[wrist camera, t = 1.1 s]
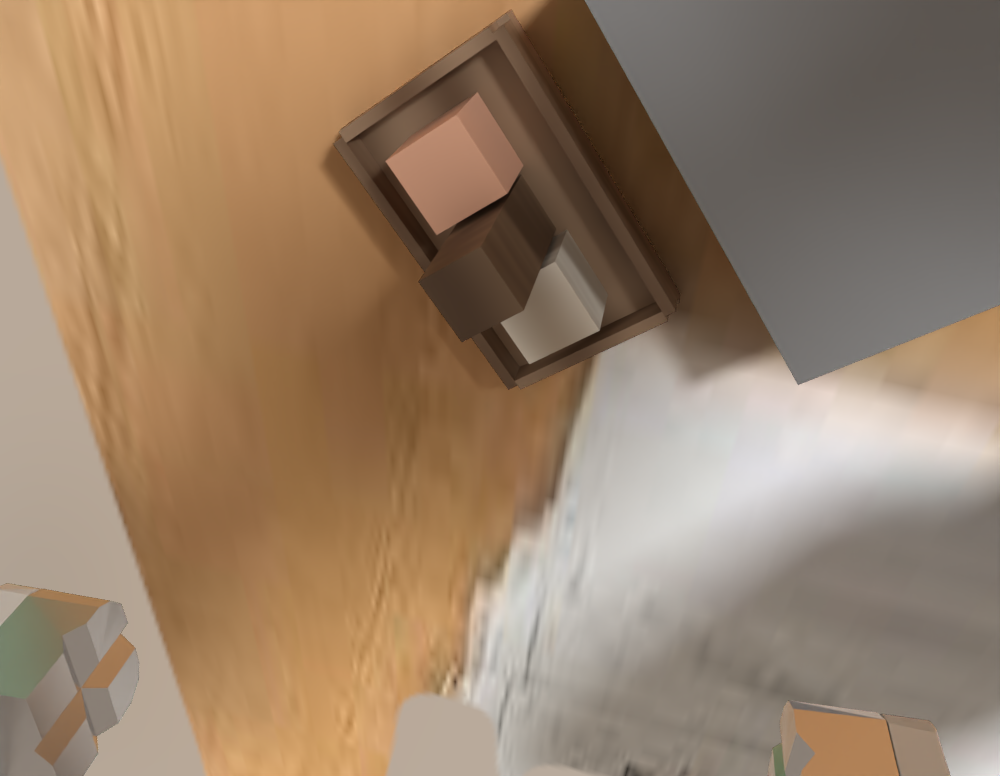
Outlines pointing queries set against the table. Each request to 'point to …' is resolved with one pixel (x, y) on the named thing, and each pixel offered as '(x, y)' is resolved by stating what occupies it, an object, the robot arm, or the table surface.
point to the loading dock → (832, 156)
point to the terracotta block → (456, 164)
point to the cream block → (559, 303)
